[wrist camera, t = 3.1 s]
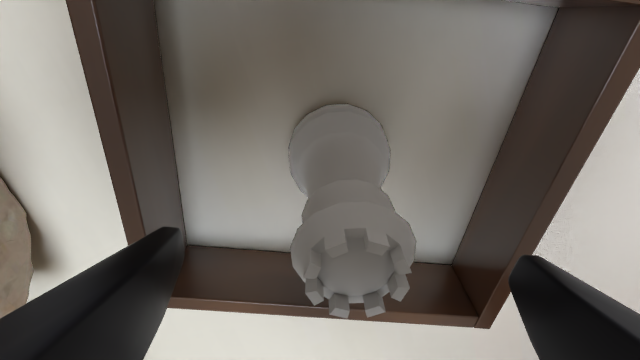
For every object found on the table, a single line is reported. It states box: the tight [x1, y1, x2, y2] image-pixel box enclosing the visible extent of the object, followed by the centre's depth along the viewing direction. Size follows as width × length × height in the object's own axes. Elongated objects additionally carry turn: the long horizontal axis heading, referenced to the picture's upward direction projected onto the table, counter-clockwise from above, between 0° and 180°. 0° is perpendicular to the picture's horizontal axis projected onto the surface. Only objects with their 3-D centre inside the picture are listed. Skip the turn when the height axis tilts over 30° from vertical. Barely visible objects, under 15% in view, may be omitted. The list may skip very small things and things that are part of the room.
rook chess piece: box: [289, 104, 416, 319], centre depth 11 cm, size 4×4×8 cm
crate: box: [66, 0, 640, 329], centre depth 13 cm, size 17×15×4 cm
